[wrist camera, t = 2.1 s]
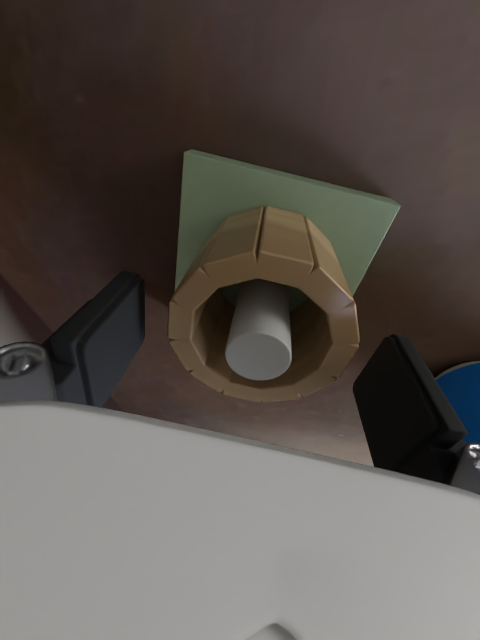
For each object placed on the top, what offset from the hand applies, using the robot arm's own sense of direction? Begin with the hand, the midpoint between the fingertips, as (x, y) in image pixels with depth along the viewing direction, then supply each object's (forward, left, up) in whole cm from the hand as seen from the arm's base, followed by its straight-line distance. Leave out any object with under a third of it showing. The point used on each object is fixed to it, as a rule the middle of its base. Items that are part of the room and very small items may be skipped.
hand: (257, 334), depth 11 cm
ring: (0, 0, -4) cm, 4 cm away
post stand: (0, 0, -5) cm, 5 cm away
